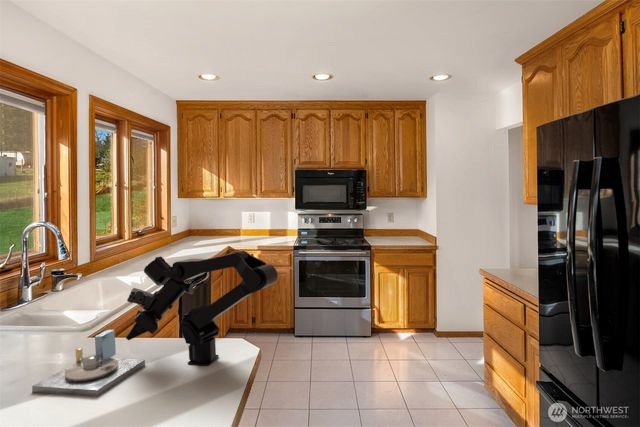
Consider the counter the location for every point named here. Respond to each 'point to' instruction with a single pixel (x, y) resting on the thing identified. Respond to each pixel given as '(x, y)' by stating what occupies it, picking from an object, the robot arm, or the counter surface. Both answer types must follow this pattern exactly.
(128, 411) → the counter surface
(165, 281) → the robot arm
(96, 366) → the flange
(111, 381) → the locating plate
